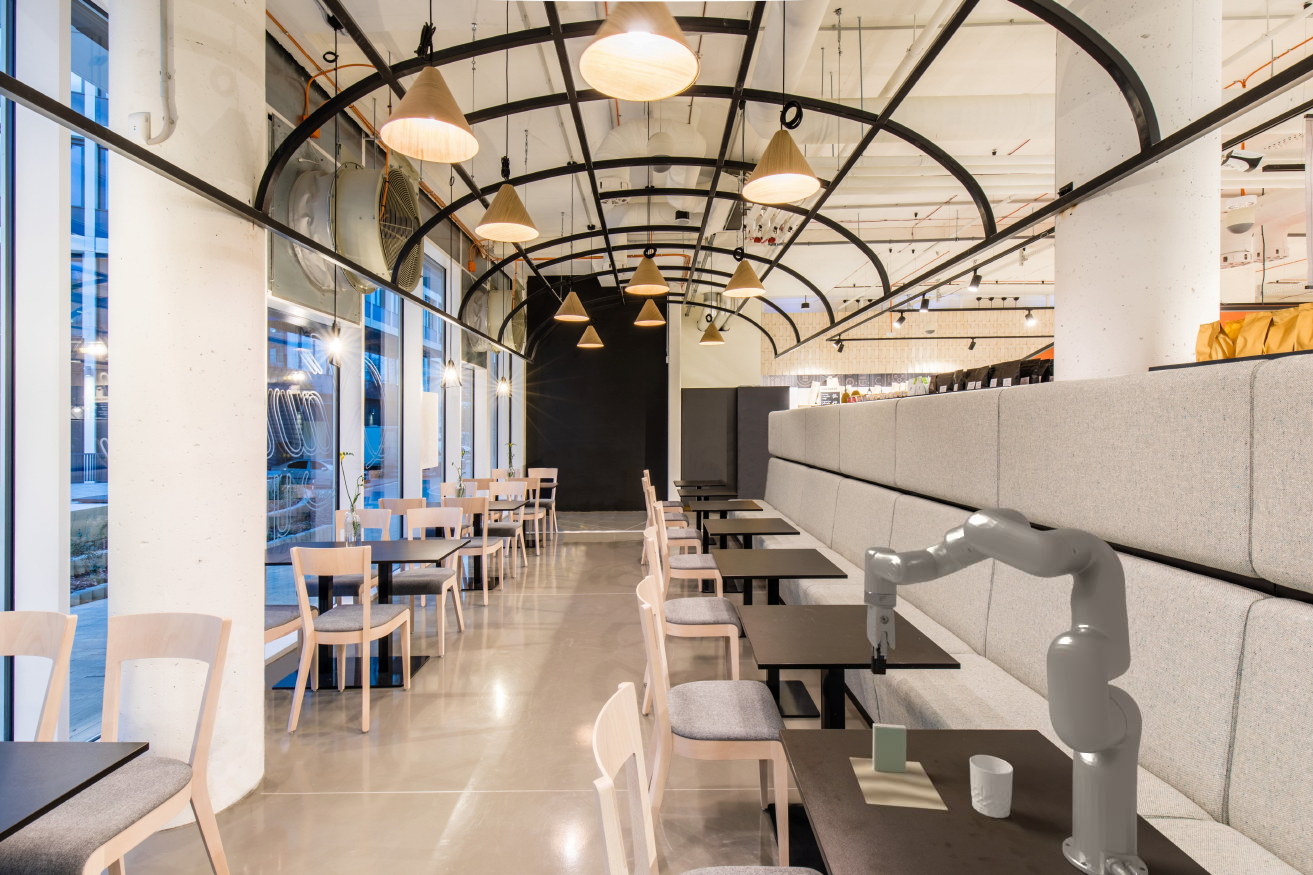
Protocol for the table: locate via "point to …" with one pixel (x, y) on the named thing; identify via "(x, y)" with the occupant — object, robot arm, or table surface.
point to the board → (897, 786)
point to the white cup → (991, 785)
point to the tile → (889, 748)
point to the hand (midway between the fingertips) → (878, 673)
